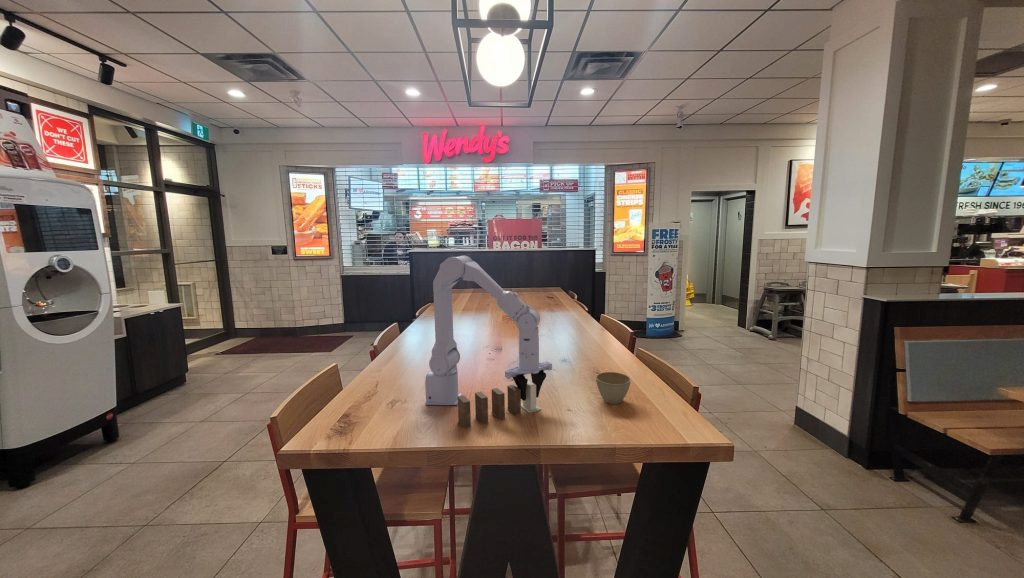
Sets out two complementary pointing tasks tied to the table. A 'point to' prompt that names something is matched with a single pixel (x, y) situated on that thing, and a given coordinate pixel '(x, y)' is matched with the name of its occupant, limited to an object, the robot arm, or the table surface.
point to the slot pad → (529, 409)
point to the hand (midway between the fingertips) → (529, 397)
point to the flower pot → (613, 386)
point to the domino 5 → (530, 396)
